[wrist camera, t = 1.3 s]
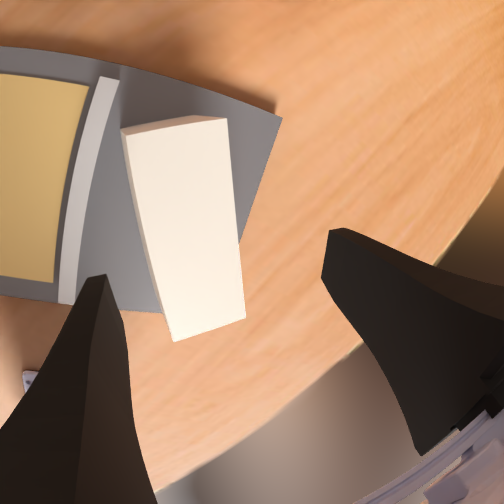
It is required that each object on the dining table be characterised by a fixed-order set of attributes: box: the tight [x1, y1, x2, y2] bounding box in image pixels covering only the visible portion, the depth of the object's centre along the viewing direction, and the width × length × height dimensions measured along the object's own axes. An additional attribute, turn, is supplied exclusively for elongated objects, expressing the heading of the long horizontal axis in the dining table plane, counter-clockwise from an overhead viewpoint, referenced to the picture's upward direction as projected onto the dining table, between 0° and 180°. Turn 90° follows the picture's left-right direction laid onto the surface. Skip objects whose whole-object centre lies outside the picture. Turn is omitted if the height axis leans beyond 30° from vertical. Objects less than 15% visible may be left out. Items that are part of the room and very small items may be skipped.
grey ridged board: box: [0, 46, 283, 313], centre depth 13 cm, size 14×27×2 cm, turn 67°
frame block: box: [120, 115, 246, 342], centre depth 16 cm, size 10×4×5 cm, turn 2°
